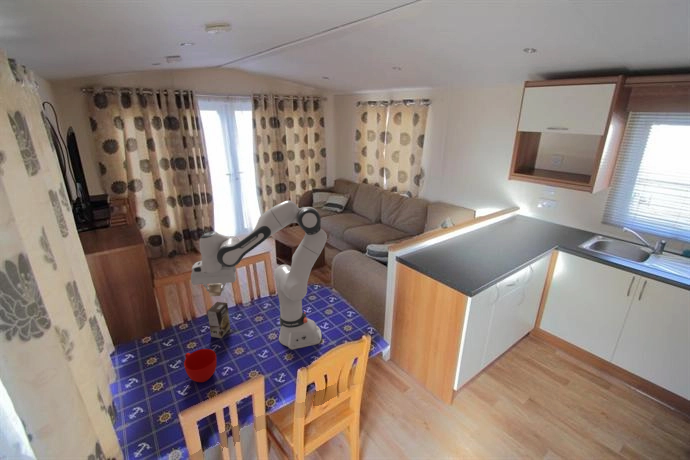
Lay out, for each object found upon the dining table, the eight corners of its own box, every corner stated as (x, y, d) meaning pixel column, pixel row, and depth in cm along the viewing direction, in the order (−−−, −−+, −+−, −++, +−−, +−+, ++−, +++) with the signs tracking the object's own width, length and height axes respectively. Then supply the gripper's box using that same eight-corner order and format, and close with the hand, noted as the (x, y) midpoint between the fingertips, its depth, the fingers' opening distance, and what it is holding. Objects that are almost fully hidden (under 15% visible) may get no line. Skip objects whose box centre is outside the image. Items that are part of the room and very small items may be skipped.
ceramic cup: (200, 358, 153) (197, 341, 150) (225, 373, 146) (222, 355, 142) (175, 376, 143) (171, 359, 139) (200, 393, 135) (196, 374, 132)
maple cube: (222, 290, 159) (221, 281, 158) (220, 295, 155) (219, 286, 153) (211, 291, 158) (210, 282, 157) (209, 296, 154) (208, 287, 152)
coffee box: (221, 338, 167) (218, 312, 161) (210, 336, 168) (206, 310, 163) (231, 327, 175) (227, 302, 170) (220, 326, 177) (216, 301, 171)
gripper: (236, 261, 156) (238, 285, 161) (191, 263, 152) (195, 288, 157) (234, 267, 150) (236, 292, 155) (187, 269, 147) (192, 295, 152)
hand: (215, 290), depth 156 cm, fingers closed on maple cube, 5 cm apart
